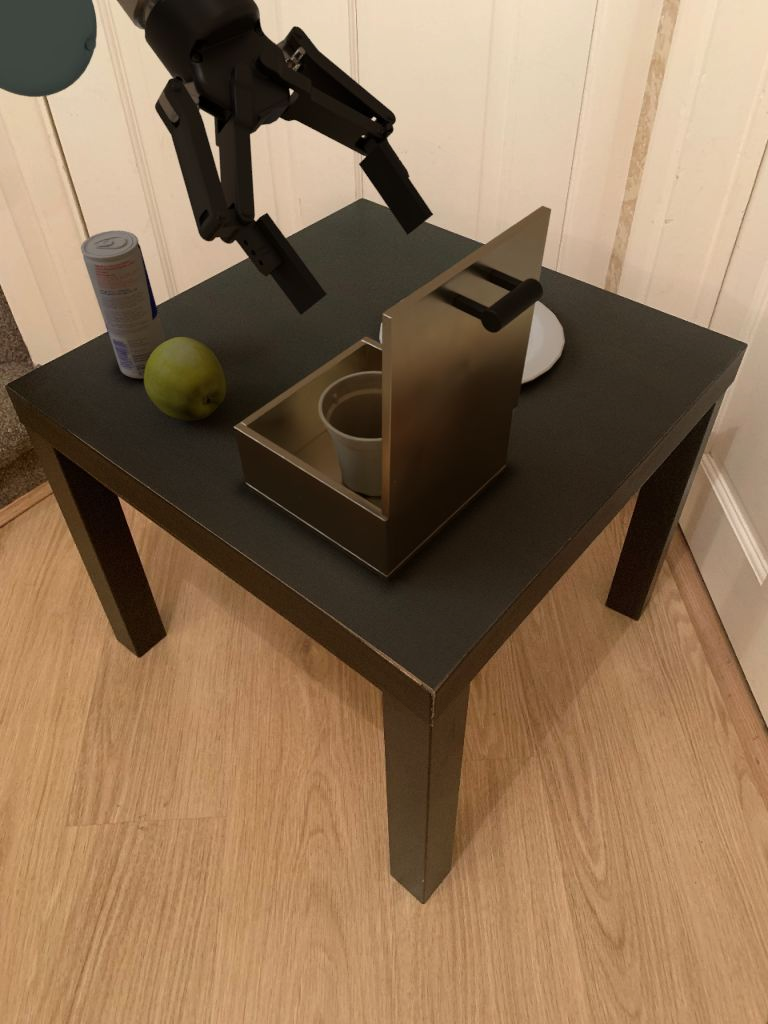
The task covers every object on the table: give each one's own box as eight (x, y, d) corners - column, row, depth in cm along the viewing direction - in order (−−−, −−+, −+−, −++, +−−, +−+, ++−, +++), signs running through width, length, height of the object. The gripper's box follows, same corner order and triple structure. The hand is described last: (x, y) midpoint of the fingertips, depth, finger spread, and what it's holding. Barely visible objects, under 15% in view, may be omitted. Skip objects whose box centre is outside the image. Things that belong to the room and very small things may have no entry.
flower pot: (445, 472, 75) (448, 401, 69) (376, 527, 71) (373, 456, 64) (374, 428, 80) (371, 357, 73) (305, 476, 75) (295, 405, 69)
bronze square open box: (246, 488, 75) (233, 426, 70) (368, 397, 84) (365, 335, 79) (387, 582, 67) (385, 520, 62) (505, 470, 76) (513, 408, 71)
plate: (454, 275, 100) (454, 262, 99) (598, 336, 91) (600, 323, 90) (341, 350, 90) (340, 338, 89) (490, 428, 80) (491, 416, 79)
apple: (198, 374, 88) (183, 312, 82) (247, 412, 83) (235, 349, 77) (137, 406, 84) (117, 343, 78) (185, 448, 79) (167, 384, 74)
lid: (381, 313, 48) (441, 343, 46) (542, 205, 57) (598, 226, 55) (381, 514, 62) (427, 544, 60) (510, 402, 70) (554, 425, 68)
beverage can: (181, 364, 89) (149, 240, 78) (140, 388, 86) (100, 263, 75) (152, 345, 92) (117, 222, 81) (110, 367, 89) (68, 243, 78)
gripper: (276, -8, 64) (429, 219, 69) (21, 90, 50) (235, 364, 55) (324, -82, 58) (488, 172, 63) (48, 6, 44) (287, 323, 49)
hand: (370, 262), depth 59 cm, fingers open, 13 cm apart
